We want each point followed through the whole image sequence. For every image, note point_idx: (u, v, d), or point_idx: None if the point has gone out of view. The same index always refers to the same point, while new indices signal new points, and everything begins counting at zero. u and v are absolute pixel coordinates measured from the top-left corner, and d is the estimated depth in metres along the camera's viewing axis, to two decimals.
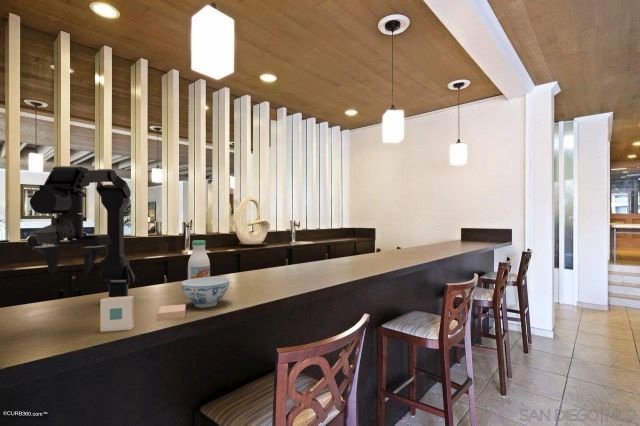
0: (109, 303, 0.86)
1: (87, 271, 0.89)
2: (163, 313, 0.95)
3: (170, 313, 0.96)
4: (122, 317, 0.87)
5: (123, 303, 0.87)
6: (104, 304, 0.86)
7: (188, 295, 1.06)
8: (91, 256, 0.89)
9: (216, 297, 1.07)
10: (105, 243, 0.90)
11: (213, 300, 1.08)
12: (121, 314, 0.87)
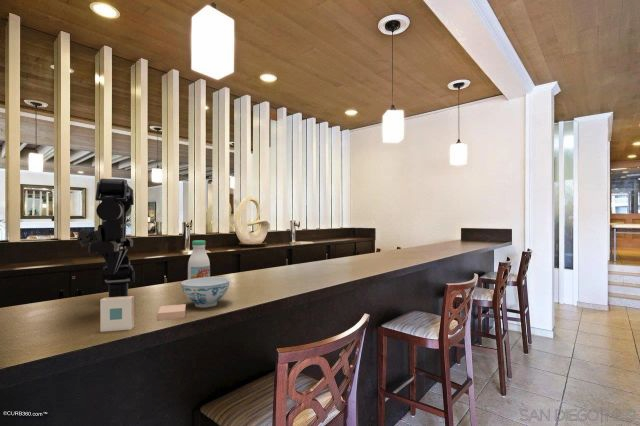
0: (109, 303, 0.86)
1: (110, 272, 1.00)
2: (163, 313, 0.95)
3: (170, 313, 0.96)
4: (122, 317, 0.87)
5: (123, 303, 0.87)
6: (104, 304, 0.86)
7: (188, 295, 1.06)
8: (110, 259, 0.99)
9: (216, 297, 1.07)
10: (102, 250, 0.92)
11: (213, 300, 1.08)
12: (121, 314, 0.87)
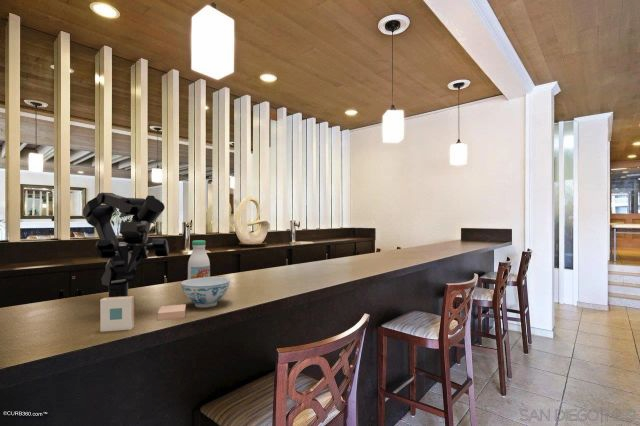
0: (109, 303, 0.86)
1: (129, 269, 0.96)
2: (163, 313, 0.95)
3: (170, 313, 0.96)
4: (122, 317, 0.87)
5: (123, 303, 0.87)
6: (104, 304, 0.86)
7: (188, 295, 1.06)
8: (136, 258, 0.99)
9: (216, 297, 1.07)
10: (167, 250, 1.04)
11: (213, 300, 1.08)
12: (121, 314, 0.87)
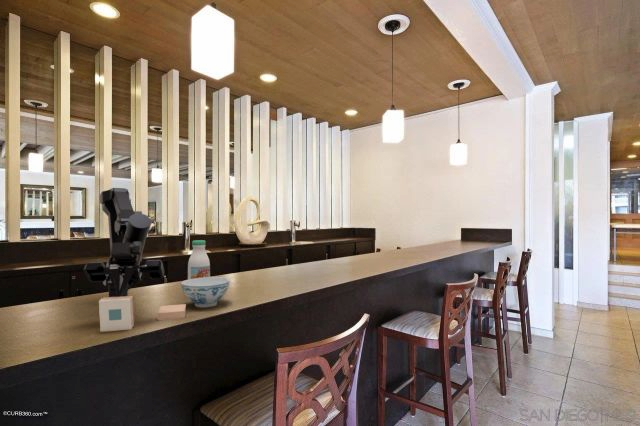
0: (108, 304, 0.85)
1: (121, 294, 0.88)
2: (163, 313, 0.95)
3: (170, 313, 0.96)
4: (121, 317, 0.86)
5: (122, 304, 0.86)
6: (103, 305, 0.85)
7: (188, 295, 1.06)
8: (128, 282, 0.91)
9: (216, 297, 1.07)
10: (162, 272, 0.96)
11: (213, 300, 1.08)
12: (120, 315, 0.86)
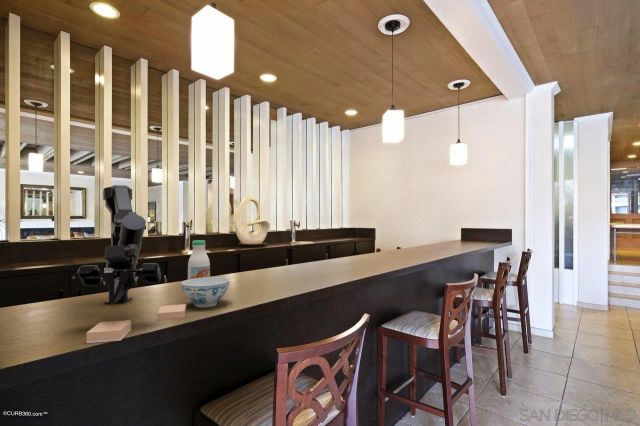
0: None
1: (115, 299, 0.85)
2: (163, 313, 0.95)
3: (170, 313, 0.96)
4: None
5: None
6: None
7: (188, 295, 1.06)
8: (123, 287, 0.88)
9: (216, 297, 1.07)
10: (159, 275, 0.92)
11: (213, 300, 1.08)
12: None
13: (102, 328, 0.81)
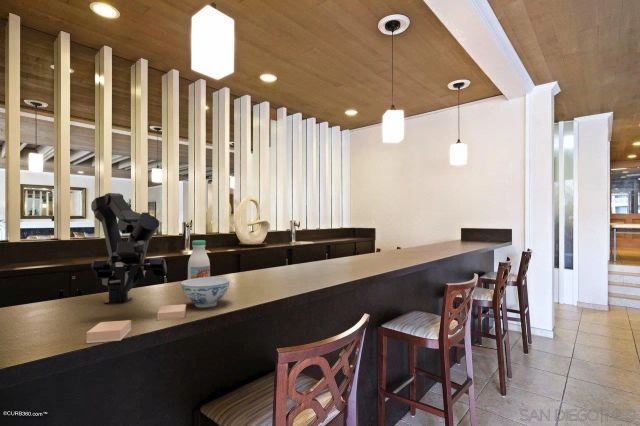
0: None
1: (126, 291, 0.93)
2: (163, 313, 0.95)
3: (169, 313, 0.96)
4: None
5: None
6: None
7: (188, 295, 1.06)
8: (133, 279, 0.96)
9: (216, 297, 1.07)
10: (165, 269, 1.01)
11: (213, 300, 1.08)
12: None
13: (102, 328, 0.81)
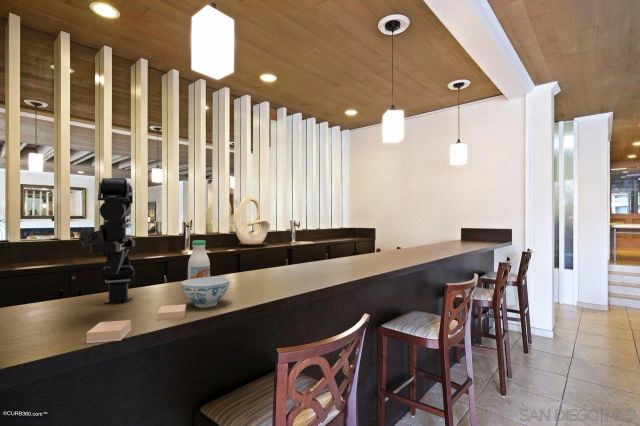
0: None
1: (113, 272, 1.00)
2: (162, 313, 0.95)
3: (169, 313, 0.96)
4: None
5: None
6: None
7: (188, 295, 1.06)
8: (113, 259, 0.99)
9: (216, 297, 1.07)
10: (104, 250, 0.91)
11: (213, 300, 1.08)
12: None
13: (102, 328, 0.81)
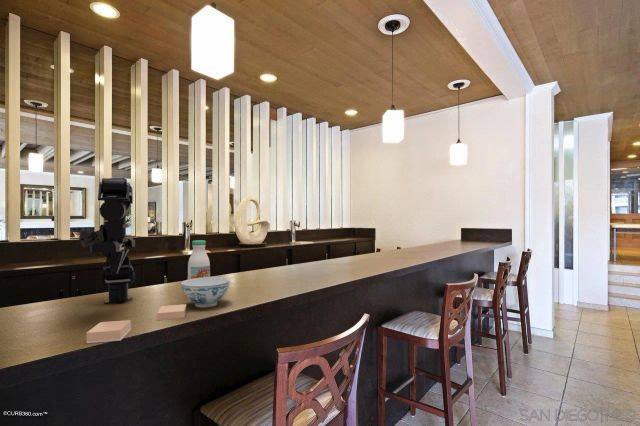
0: None
1: (113, 272, 1.00)
2: (162, 313, 0.95)
3: (169, 313, 0.96)
4: None
5: None
6: None
7: (188, 295, 1.06)
8: (113, 259, 0.99)
9: (216, 297, 1.07)
10: (104, 250, 0.91)
11: (213, 300, 1.08)
12: None
13: (102, 328, 0.81)
